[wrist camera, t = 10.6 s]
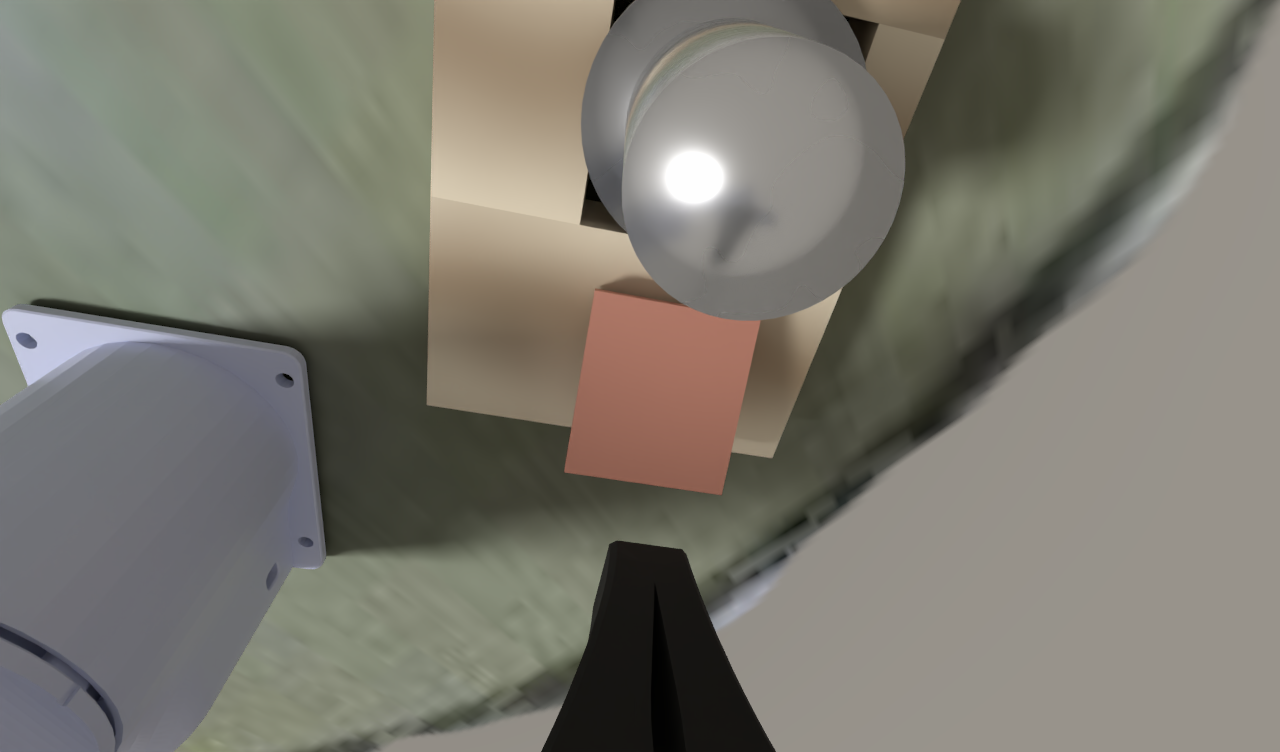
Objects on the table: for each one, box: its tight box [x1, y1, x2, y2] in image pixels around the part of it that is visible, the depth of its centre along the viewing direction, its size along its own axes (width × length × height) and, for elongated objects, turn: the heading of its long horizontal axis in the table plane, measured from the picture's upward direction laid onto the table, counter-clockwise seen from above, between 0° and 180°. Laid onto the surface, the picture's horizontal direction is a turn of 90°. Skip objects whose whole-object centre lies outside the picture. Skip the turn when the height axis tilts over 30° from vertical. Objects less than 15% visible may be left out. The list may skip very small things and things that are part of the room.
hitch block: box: [427, 0, 961, 458], centre depth 15 cm, size 13×10×2 cm
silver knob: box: [581, 0, 905, 321], centre depth 12 cm, size 6×6×7 cm
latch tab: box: [564, 288, 761, 495], centre depth 15 cm, size 4×4×1 cm
